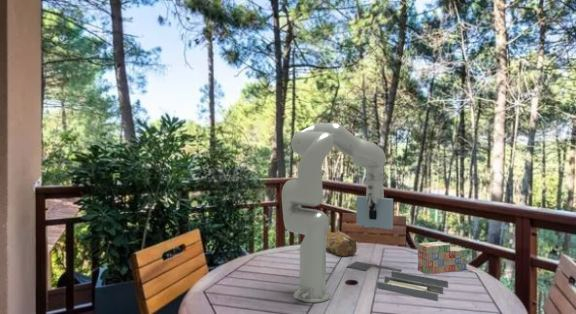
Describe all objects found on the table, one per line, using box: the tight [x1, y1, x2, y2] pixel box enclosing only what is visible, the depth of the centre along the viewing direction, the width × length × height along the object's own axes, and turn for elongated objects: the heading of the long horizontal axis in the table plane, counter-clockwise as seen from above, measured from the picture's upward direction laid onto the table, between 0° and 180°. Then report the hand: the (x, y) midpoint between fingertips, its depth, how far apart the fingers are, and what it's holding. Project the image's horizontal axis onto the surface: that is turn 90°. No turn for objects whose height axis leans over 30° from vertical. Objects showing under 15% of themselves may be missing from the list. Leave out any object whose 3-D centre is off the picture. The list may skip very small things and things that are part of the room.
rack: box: [376, 270, 449, 302], centre depth 147 cm, size 17×22×3 cm
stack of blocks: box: [417, 241, 468, 275], centre depth 171 cm, size 21×6×12 cm, turn 108°
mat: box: [346, 261, 403, 273], centre depth 172 cm, size 10×22×1 cm, turn 56°
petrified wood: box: [326, 230, 358, 257], centre depth 200 cm, size 19×13×10 cm
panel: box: [355, 195, 394, 230], centre depth 172 cm, size 3×16×13 cm, turn 55°
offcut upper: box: [387, 281, 428, 292], centre depth 144 cm, size 4×14×2 cm, turn 59°
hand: (374, 218), depth 172 cm, fingers closed on panel, 3 cm apart
